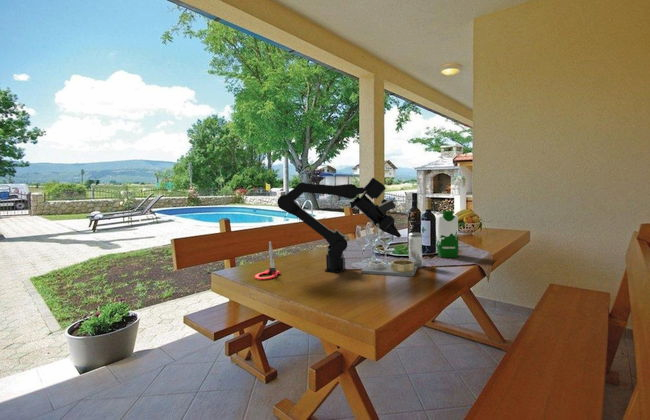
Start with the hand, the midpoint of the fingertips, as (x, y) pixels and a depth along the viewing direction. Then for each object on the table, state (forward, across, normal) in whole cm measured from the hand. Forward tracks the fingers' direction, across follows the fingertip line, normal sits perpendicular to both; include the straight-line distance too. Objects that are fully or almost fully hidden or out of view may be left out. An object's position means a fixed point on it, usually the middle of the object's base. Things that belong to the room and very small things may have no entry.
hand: (397, 234), depth 128 cm
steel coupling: (+14, 0, +4) cm, 15 cm away
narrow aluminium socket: (+2, -3, +16) cm, 16 cm away
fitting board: (+6, -5, +12) cm, 15 cm away
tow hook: (-27, -5, +45) cm, 53 cm away
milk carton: (+27, +15, -9) cm, 32 cm away
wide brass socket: (+9, -7, +9) cm, 15 cm away
